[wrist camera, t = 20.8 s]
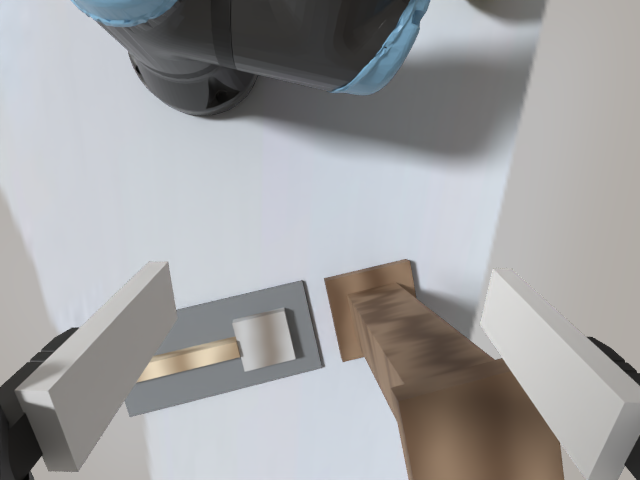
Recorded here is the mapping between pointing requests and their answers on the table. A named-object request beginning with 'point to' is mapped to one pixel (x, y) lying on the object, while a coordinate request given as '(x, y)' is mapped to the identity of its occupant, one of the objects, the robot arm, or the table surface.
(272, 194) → the table surface
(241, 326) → the bar
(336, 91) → the robot arm
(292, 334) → the mat
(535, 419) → the pedestal
